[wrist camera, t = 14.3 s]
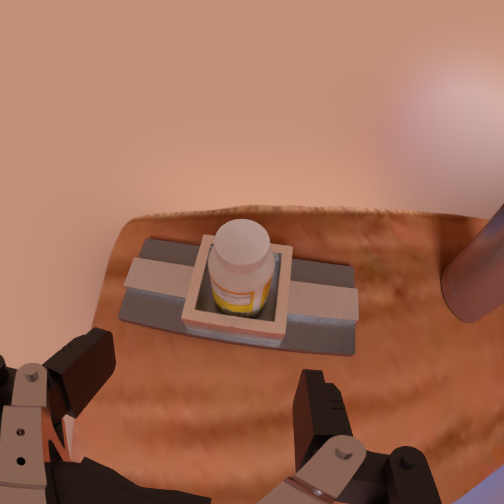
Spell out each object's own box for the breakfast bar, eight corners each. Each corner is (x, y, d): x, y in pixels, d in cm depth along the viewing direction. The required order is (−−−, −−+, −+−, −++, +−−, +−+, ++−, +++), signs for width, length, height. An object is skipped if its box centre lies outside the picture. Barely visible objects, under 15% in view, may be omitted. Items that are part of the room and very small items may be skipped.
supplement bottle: (230, 330, 26) (226, 287, 18) (204, 286, 28) (190, 229, 20) (277, 304, 28) (294, 252, 20) (249, 263, 30) (253, 202, 22)
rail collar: (350, 271, 31) (362, 252, 28) (351, 356, 26) (366, 346, 22) (148, 243, 32) (139, 222, 29) (121, 320, 27) (106, 306, 23)
